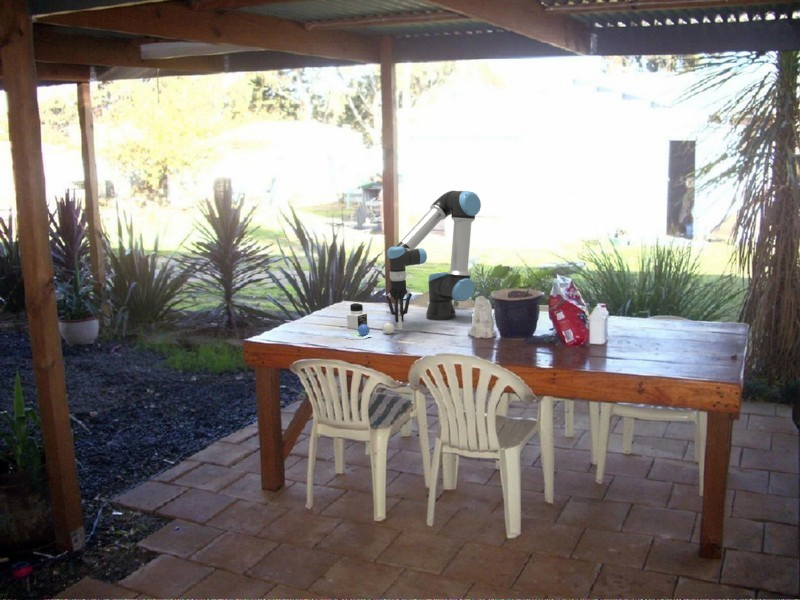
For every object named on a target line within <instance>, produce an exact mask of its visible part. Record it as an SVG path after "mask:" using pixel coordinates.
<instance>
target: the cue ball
mask: <svg viewBox="0 0 800 600" xmlns="http://www.w3.org/2000/svg"><path fill="white" fill-rule="evenodd" d="M382 330H383V332H384V333H385V334H387V335H390V334H393V333H394V331H395V325H394V323H392V322H390V321H388V322H385V323H384V324H383V326H382Z"/></svg>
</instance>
